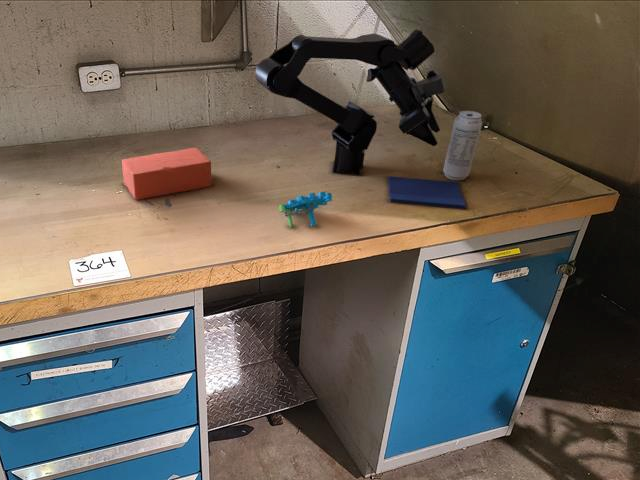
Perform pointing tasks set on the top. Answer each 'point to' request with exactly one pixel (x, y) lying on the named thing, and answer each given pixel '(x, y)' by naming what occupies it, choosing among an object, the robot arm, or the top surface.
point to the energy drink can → (462, 145)
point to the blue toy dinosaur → (305, 206)
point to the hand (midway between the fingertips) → (437, 138)
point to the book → (426, 192)
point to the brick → (166, 173)
